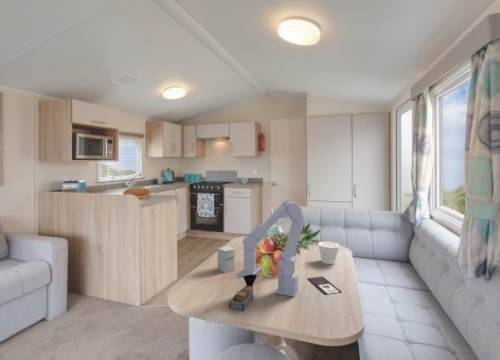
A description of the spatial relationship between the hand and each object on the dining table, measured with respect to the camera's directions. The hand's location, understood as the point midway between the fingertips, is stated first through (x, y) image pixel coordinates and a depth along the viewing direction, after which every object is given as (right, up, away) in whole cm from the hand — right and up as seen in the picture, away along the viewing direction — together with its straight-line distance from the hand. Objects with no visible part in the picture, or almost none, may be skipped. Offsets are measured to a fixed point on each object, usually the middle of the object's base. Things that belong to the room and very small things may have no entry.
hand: (249, 289), depth 136 cm
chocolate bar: (+38, -3, +10) cm, 39 cm away
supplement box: (-14, 0, +30) cm, 33 cm away
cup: (+49, +1, +43) cm, 65 cm away
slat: (-2, -3, -6) cm, 7 cm away
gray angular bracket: (-4, -3, -9) cm, 10 cm away
